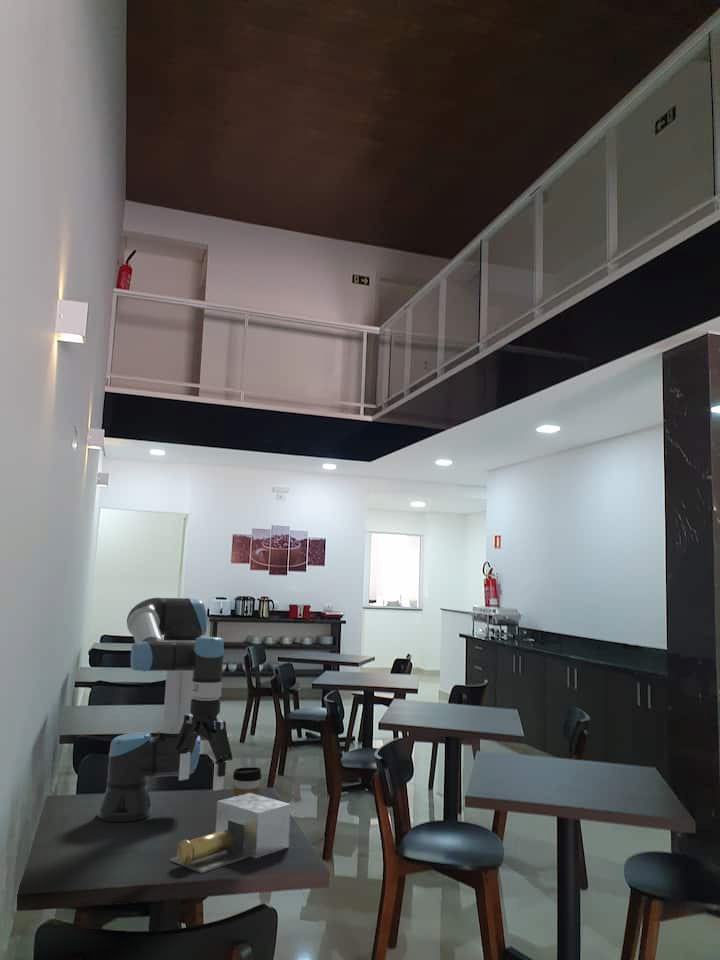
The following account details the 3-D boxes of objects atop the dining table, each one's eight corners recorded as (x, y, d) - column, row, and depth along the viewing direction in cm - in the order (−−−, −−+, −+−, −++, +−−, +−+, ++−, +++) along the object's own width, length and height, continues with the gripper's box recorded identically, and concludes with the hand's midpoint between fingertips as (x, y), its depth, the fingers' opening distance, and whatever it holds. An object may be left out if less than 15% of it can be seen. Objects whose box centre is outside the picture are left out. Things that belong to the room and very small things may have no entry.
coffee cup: (253, 827, 214) (256, 773, 216) (226, 824, 216) (229, 770, 218) (263, 818, 222) (265, 766, 224) (236, 816, 224) (239, 764, 226)
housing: (165, 859, 186) (168, 813, 188) (248, 833, 208) (250, 792, 210) (206, 875, 176) (209, 826, 178) (288, 847, 198) (290, 804, 200)
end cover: (176, 861, 183) (177, 837, 184) (219, 848, 193) (220, 825, 194) (190, 867, 179) (191, 843, 180) (233, 853, 190) (234, 830, 191)
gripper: (164, 693, 195) (158, 777, 192) (226, 705, 180) (221, 797, 176) (187, 691, 201) (181, 773, 198) (249, 702, 185) (244, 791, 182)
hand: (200, 784), depth 187 cm, fingers open, 13 cm apart
